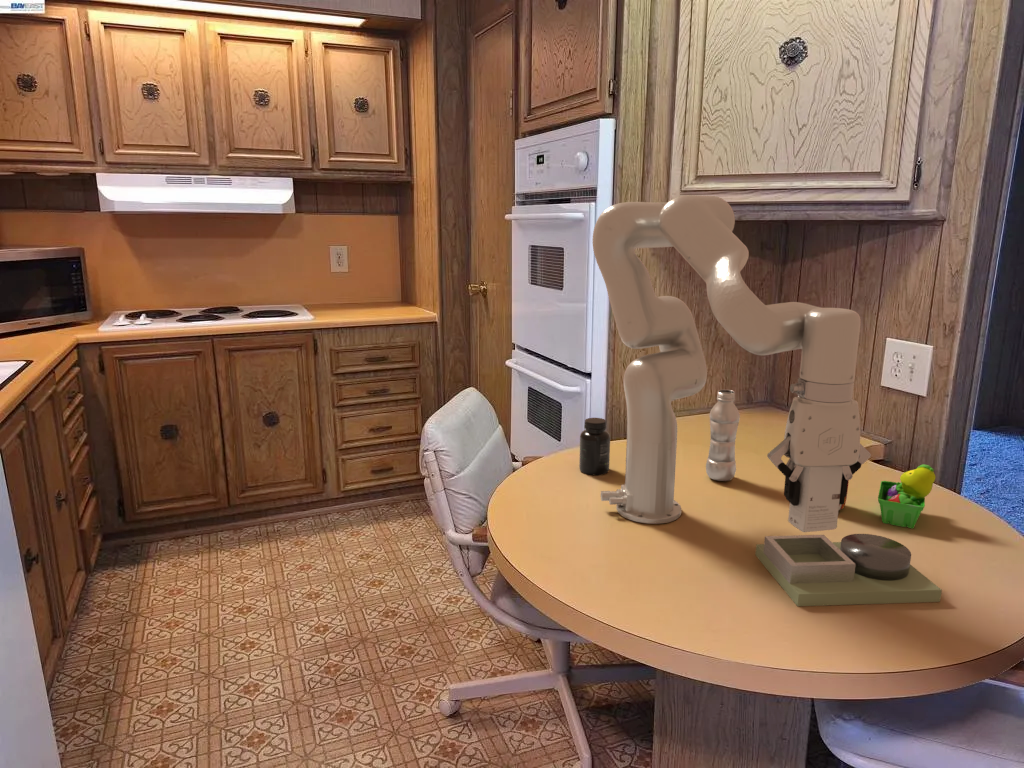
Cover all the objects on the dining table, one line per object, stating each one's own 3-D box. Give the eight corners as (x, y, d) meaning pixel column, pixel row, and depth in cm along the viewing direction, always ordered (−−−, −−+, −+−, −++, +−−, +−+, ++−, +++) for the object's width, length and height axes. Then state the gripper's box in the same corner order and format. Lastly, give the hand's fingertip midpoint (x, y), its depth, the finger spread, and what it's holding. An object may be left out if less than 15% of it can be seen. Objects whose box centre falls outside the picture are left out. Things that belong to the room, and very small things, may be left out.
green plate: (797, 606, 103) (800, 576, 101) (755, 555, 118) (757, 528, 117) (939, 601, 104) (944, 571, 102) (879, 551, 119) (883, 524, 118)
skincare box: (803, 533, 105) (810, 459, 103) (786, 521, 110) (792, 449, 107) (838, 529, 107) (846, 455, 104) (820, 517, 111) (827, 446, 108)
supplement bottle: (606, 464, 161) (608, 415, 158) (611, 475, 155) (613, 424, 152) (577, 465, 161) (578, 416, 158) (581, 476, 155) (582, 425, 152)
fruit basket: (877, 503, 139) (884, 450, 137) (928, 512, 135) (936, 457, 132) (874, 524, 130) (881, 468, 127) (928, 534, 125) (937, 477, 123)
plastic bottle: (703, 482, 151) (709, 394, 146) (706, 471, 157) (712, 386, 152) (733, 486, 148) (740, 396, 143) (736, 475, 154) (743, 389, 149)
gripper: (779, 398, 99) (769, 513, 103) (896, 395, 100) (882, 509, 104) (758, 386, 106) (750, 494, 111) (867, 383, 107) (855, 491, 111)
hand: (814, 500), depth 107 cm, fingers closed on skincare box, 6 cm apart
